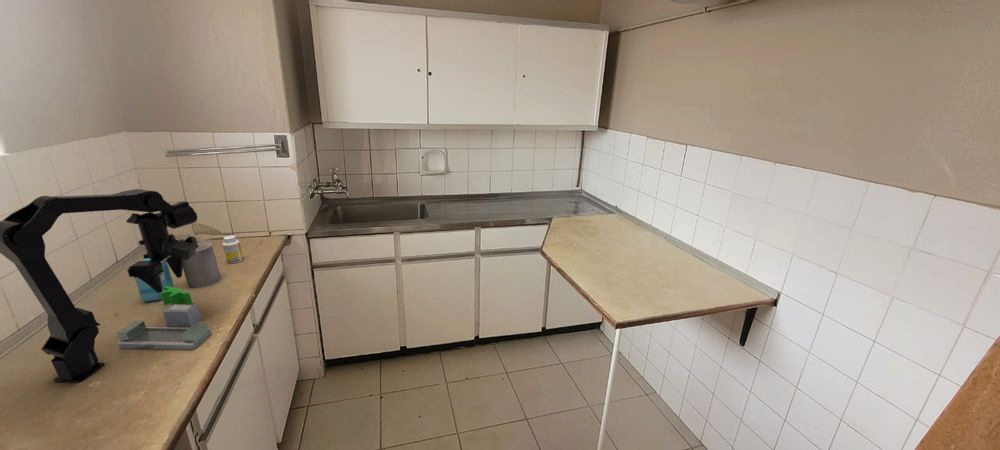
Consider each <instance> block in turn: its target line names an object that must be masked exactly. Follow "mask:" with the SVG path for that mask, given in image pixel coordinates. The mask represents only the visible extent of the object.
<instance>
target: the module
mask: <svg viewBox="0 0 1000 450" xmlns="http://www.w3.org/2000/svg"><path fill="white" fill-rule="evenodd" d="M162 312H163V316H164V318H165V322H166V325H167V327H191V326H193V325H194V324H195V323H196V322H200V320H202V316H201V313H200V310H199V307H198V304H193V305H187V304H174V305H172V304H171V306H169V307H167V308H166V309H165V310H163V311H162Z"/></svg>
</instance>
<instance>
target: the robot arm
mask: <svg viewBox="0 0 1000 450" xmlns="http://www.w3.org/2000/svg"><path fill="white" fill-rule="evenodd" d="M119 210H120V211H132V212H133V213H131V215H130V217H128V218H127V219H126V223H129V224H132V225H137V226H138V229H139V232H140V235H141V239H140V240H139V241H138V244H139V245H140V246H141V245H142V246H143V245H144V248H145V252H146V253H145V254H142V257H143V260H144V259H146V258H150V259H151V260H150V261H143V260H139V261H137V262H135V263H133V264H132V265H130V266H129V267H128V268H127V269H126V271H127V273H128V277H130V278H132V277H133V278H134V279H135V278H139V279H141V280H142V281H144V282H145V283H146V284H148V285H149V286H150V287H151V288H152V289H154V290H155V291H156V292H157V293H161V292H162V283H161V278H160V275H161V274H162V273H163V271H164V270H162V267H163V266H162V263H161V262H163V261H164V260H166V262H167V265H168V267H169V269H171V271H172V273H173V275H175V277H176V278H180V279H181V278H182V276H183V271H184V270H183V262H184V260H188V259H190V257H192V256H194V255H195V251H196V248H198V247H199V246H198V245H197V244H198V243H197V242H198V241H197V239H196V237H195V236H188V237H187V238H185V239H180V240H179V239H176V236H175V235H174V234H173V233H171V234H170V232H169V230H168V228H170V229H172V230H173V229H174V230H175V229H179V228H181V227H184V226H188V225H191V224H194V223H196V222H197V220H198V214H197V212H195V210H194V208H193V207H192V206H191V205H190V203H189V201H184V200H183V201H179V202H177V203H173V204H170V203H169V202H167V201H166V200H165V199H164V197H163V196H162V194H161V193H160V192H158V191H155V190H149V189H141V188H136V189H135V188H134V189H130V190H129V189H128V190H124V191H119V192H117V193H111V194H87V195H61V196H60V195H59V196H58V195H57V196H49V195H41V196H38V197H36V198H35V199H33V200H32V201H31V202H30V203H29V204H27V205H25V206H23V207H22V208H19V209H18V210H16V211H14V212H12V213H10V214H8V216H6V217H5V218H4V219H2V220H0V254H1V255H2V256H4V257H5V258H6V259H7V260H9V261H10V262H12V263H13V264H14V265H15V267H16V268H17V270H18V272H19V273H20V275H21V276H22V277H23V279H24V281H25V282H26V284H27V285H28V287H29V289H30V290H31V292H32V293H33V295H34V296H35V298H36V299H37V301H38V302H39V303H40V305H41V307H42V308H43V310H44V311H45V313H46V314H47V324H46V325H47V328H48V332H49V334H50V335H49V337H48V338H47V340H46V341H45V343H44V344H43V346H42V347H41V351H42V352H44V353H45V354H47V355H49V356H53V358H52V359H50V361H51V364H52V366H53V368H54V370H55V372H56V375H57V377H55V378H54V379H53V382H54V383H80V382H83V381H84V380H86V379H87V378H88V377H89V376H91V375H92V374H94V372H97V371H98V370H99V369H100V368H102V367H103V366H105V362H99V358H98V355H97V354H96V350H95V343H96V337H97V336H98V335H99V332H100V330H99V327H98V326H101V324H100V323H99V322H98V321H96V318H95V315H94V313H93V312H92V311H91V310H87V309H83V308H80V307H76V305H74V303H73V302H72V300H71V298H70V296H69V294H68V293H67V291H66V290H65V289H64V287H63V285H62V283H61V282H60V280H59V278H58V277H57V274H56V273H55V272H54V270H53V269H52V267H51V265H50V264H49V262H48V261H47V259H46V254H45V253H46V243H45V241H44V237H43V236H44V235H45V234H46V233H48V232H49V231H50V230H51V229H52V228H53V226H54V224H55V223H56V221H57V220H58V218H59V217H60V216H61V215H63V214H73V213H76V214H77V213H88V212H89V213H90V212H107V211H119ZM134 212H142V213H141V214H139V213H134ZM143 212H144V213H143Z"/></svg>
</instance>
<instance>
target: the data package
mask: <svg viewBox="0 0 1000 450" xmlns="http://www.w3.org/2000/svg"><path fill="white" fill-rule="evenodd" d="M150 260H151V259H150V258H146V259H144V258H143V260H142V261H150ZM161 263H162V266H163V267H162V270H164V271H163V273H162V274H161V275H160V278H161V283H162V292H164V291H165V289H164V287H166V286H170V287H173V285H174V284H173V283H174V282H173V278H172V276H171V272H170V267H169V265H168V263H167V261H166V260H164V261H163V262H161ZM134 280H135V283H136V287H137V289H138V292H139V294H140V295H139V296H140V298H141V301H142V302H144V303H147V302H154V301H161V300H163V299H162V296H161V293H157V292H156V291H155V290H154V289H152V288H151V287H150V286H149V285H148V284H146V283H145V282H144V281H142V280H141V279H139V278H134Z"/></svg>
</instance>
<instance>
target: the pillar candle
mask: <svg viewBox="0 0 1000 450" xmlns="http://www.w3.org/2000/svg"><path fill="white" fill-rule="evenodd" d="M197 243H198V244H197V245H198V246H199V247H198V248H196V251H195V255H194V256H192V257H190V259H188V260H184V262H183V270H182V271H183V273H184V277H185V280H186V284H187V286H188V287H189V288H193V289H198V288H204V287H208V286H211V285H214V284H215V283H216V282H218V281H220V280H221V273H220V270H219V265H218V263H217V258H216V256H215V255H216V254H215V252H214V247H213V243H212V242H211V241H207V240H198V241H197Z"/></svg>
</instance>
